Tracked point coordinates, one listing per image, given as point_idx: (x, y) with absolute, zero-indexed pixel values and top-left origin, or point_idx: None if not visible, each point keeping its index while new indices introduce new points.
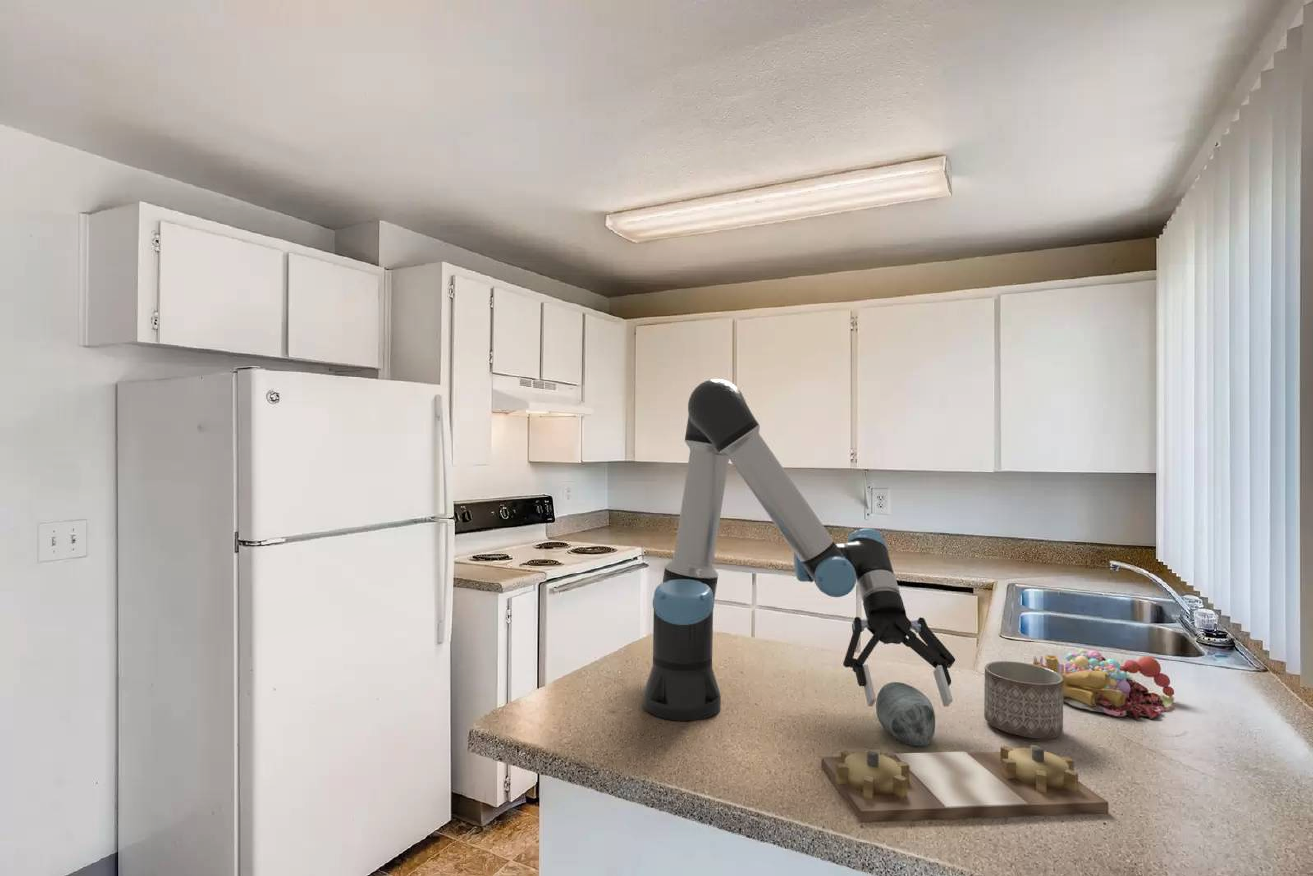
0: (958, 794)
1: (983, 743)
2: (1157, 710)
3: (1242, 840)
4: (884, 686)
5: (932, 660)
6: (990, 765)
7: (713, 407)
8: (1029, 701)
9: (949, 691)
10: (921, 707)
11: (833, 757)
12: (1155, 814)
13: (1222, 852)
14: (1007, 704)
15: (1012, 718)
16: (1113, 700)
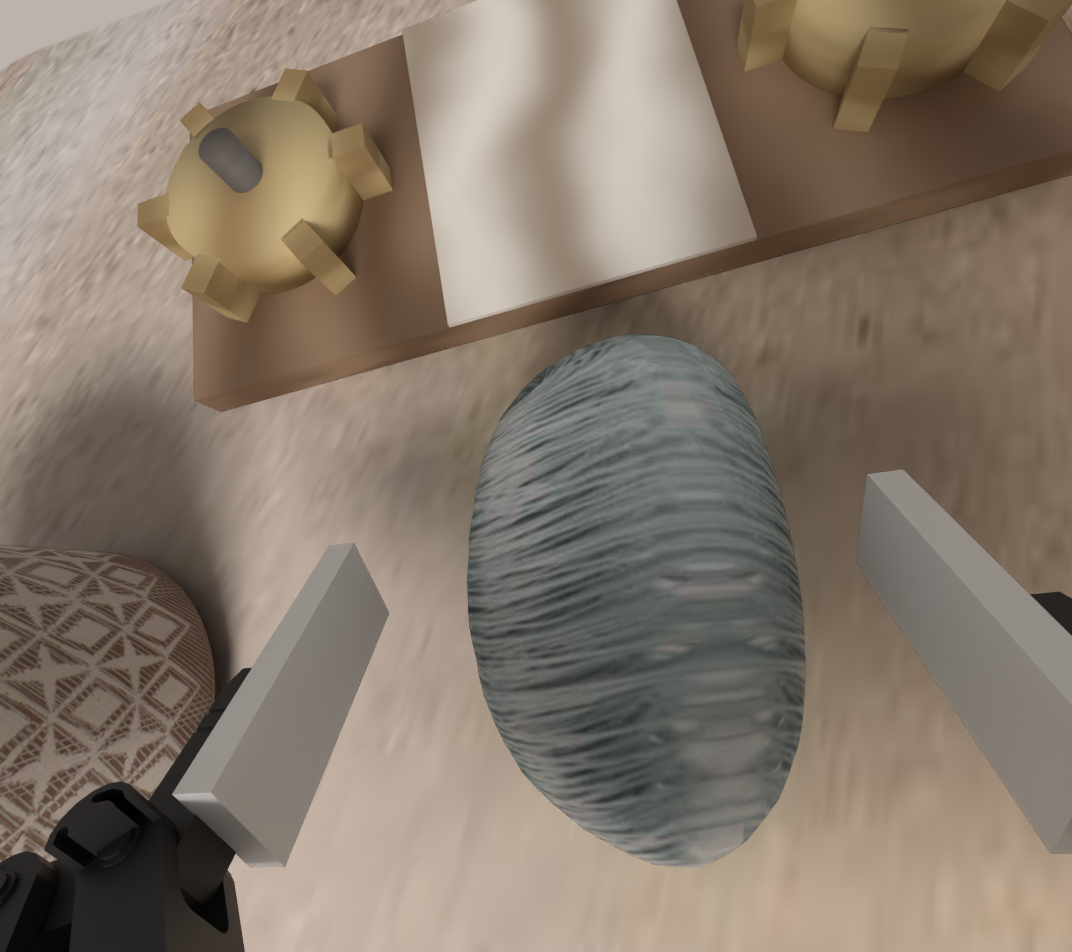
0: (588, 10)
1: (324, 528)
2: None
3: (30, 114)
4: (757, 768)
5: (199, 934)
6: (399, 247)
7: None
8: None
9: (308, 584)
10: (571, 355)
11: (1063, 141)
12: (113, 169)
13: (101, 58)
14: (65, 599)
15: (118, 583)
16: None
